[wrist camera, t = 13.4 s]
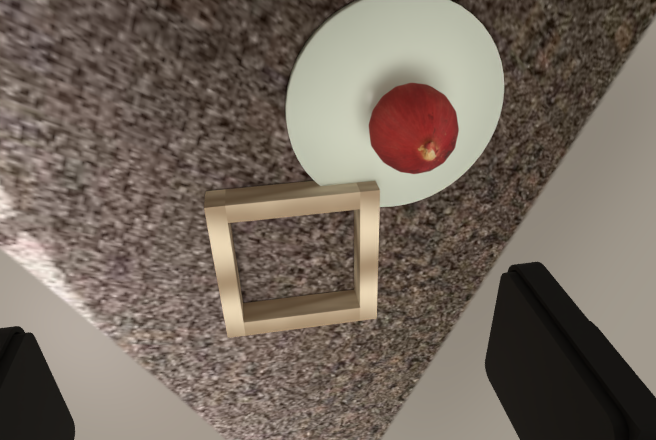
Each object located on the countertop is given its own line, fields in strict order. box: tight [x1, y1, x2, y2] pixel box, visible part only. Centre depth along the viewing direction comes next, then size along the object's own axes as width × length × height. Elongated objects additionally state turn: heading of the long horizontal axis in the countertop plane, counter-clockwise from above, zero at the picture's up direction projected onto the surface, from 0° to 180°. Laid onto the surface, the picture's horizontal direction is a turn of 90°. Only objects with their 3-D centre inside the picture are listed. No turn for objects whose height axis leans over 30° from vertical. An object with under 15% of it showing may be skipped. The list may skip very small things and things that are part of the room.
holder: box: [204, 181, 380, 338], centre depth 43 cm, size 13×13×2 cm
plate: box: [285, 0, 504, 207], centre depth 38 cm, size 16×16×1 cm
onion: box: [369, 83, 459, 174], centre depth 34 cm, size 6×6×8 cm
